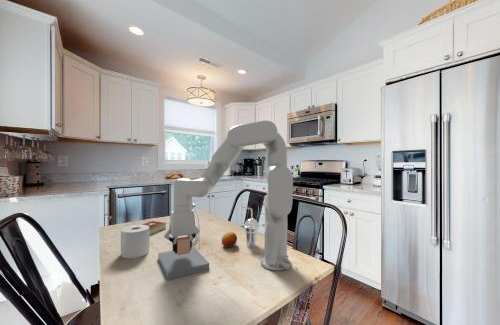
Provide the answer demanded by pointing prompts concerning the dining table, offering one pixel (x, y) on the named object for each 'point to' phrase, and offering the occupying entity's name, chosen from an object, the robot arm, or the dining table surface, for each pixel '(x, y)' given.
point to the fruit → (229, 239)
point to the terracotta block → (183, 245)
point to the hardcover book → (155, 226)
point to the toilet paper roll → (134, 241)
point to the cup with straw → (251, 230)
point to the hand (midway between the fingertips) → (182, 250)
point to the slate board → (182, 263)
